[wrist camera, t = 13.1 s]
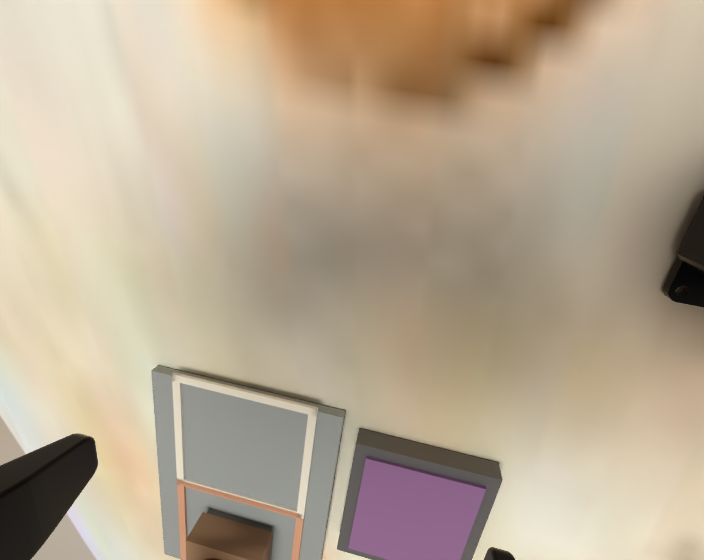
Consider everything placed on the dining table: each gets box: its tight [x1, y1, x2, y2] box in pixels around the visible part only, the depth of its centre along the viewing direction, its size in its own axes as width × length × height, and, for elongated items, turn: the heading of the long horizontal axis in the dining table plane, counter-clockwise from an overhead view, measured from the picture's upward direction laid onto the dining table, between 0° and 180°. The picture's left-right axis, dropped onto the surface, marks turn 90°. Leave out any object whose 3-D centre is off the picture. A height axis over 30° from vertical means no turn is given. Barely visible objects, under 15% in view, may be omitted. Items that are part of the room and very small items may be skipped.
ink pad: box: [337, 428, 502, 560], centre depth 23 cm, size 8×9×1 cm
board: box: [152, 365, 345, 560], centre depth 26 cm, size 12×18×1 cm
